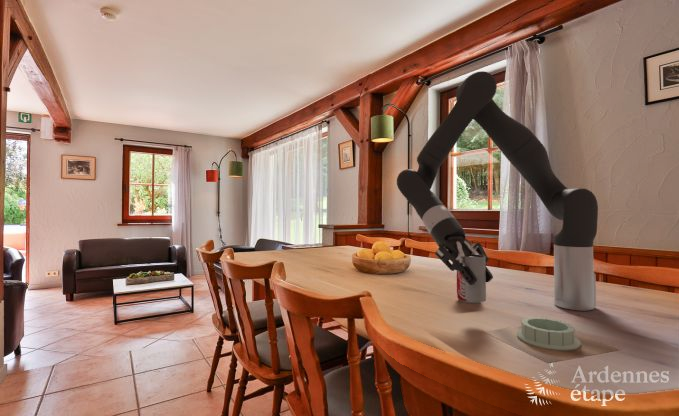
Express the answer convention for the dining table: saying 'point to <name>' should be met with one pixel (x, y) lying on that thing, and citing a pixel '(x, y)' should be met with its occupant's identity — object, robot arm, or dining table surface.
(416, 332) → the dining table surface
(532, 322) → the holder
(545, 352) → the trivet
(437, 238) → the robot arm
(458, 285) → the soda can
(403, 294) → the dining table surface
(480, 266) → the grey hollow cylinder
